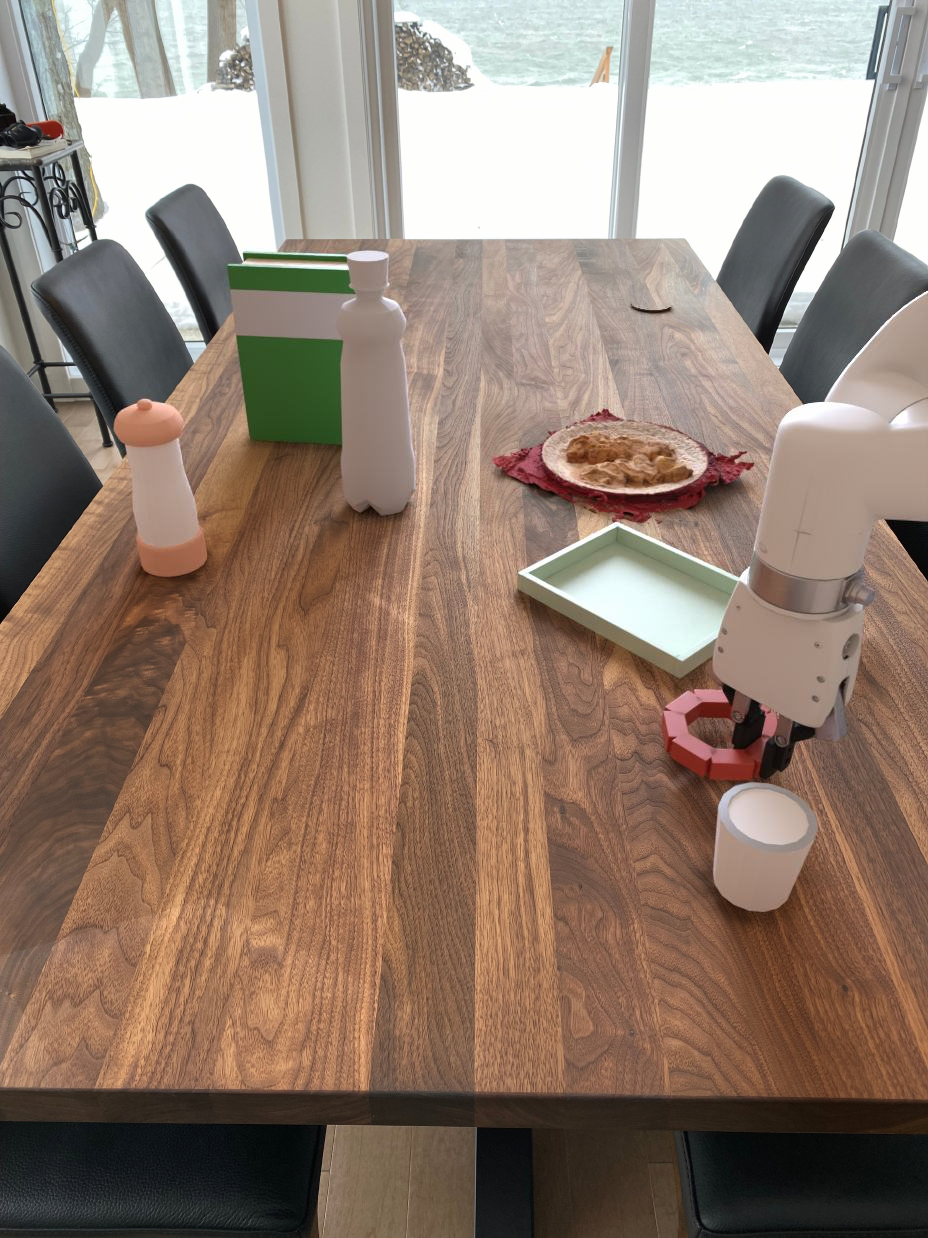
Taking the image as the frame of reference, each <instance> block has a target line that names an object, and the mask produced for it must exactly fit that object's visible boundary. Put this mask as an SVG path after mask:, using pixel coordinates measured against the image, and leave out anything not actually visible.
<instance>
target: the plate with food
mask: <svg viewBox="0 0 928 1238" xmlns="http://www.w3.org/2000/svg"><path fill="white" fill-rule="evenodd" d="M547 434H548V436H547V437H546V438H545V439H544V440H543V442H541V443H539V444H538V445H536V446H532V447H530V448H529V447H527V446H526V447H524V448H523V447H521V448H520V450H517V451H516V452H511V451H510V452H509V454H510V456H509V455H504V454H503V455H500V456H497V457H495V456H494V457H493V458H492V459H491V461H492V463H493V464H494V465H495V466H496V468H497V469H498V468H501V470H502V471H505V472H504V474H506V475H509V476H510V477H513V478H515V479H518V480H519V481H521V482H523V483H526V484H527V485H531V484H535V485H537V487H540V488H541V489H543V490H545V491H547V492H551V491H552V493H553V492H554V494H556V495H558V497H561V498H563V499H565V500H567V501H570V502H571V503H572V504H576V503H584V504H585V505H589V506H591V507H590V510H591V511H592V512H599V513H600V512H601V513H607V514H614V516H613V517H611V520H612V521H613V522H614V523H615V522H618V523H619V520H620V521H621V520H625V521H626V520H627V521H628V522H631V523H638V524H639V523H645V522H647V524H648V525H650V524H651V523H650V522H648V521H649V520H650V519H651V518H652V515H651V514H650V513H656V514H661V513H663V512H664V511H666V512H668V511H667V510H674V509H675V511H677V509H680V508H681V509H682V510H687V509H689V508H691V507H693V506H695V505H696V504H698V503H699V502H701V500H702V499H703V498H704V497H705V495H706V491H705V490H704V488H706V487H707V485H709V486H711V487H712V486H713V487H716V486H718V485H719V479H720V480H721V482H722V483H723V485H724V486H727V484H729V483H731V482H733V481H735V480H736V479H738V478H740V476H741V475H742V473H744V471H745V470H746V471H747V472H748V471H750V470H752V468H754V466H755V462H745V461H741V460H740V461H738V462H736V460H738V459H739V458H741V457H742V456H743V455H746V454H747V453H748V451H747V450H745V451H741V450H740V451H739V452H738V453H736V454H731V455H729V456H727V455H724V454H722V453H721V452H718V453H717V454H714V452H713V451H710V449H709V448H708V447H707V446H706V444H704V443H703V442H700V441H698V440H696V439H694V438H692V437H691V436H690V435H688V434H686V433H685V432H682V431H681V430H679V429H675V428H673V427H671V426H670V425H669V426H668V425H665V424H658V423H654V422H651V421H650V422H649V421H637V420H634V419H623V418H622V417H618V416H616V415H614V414H613V413H612V412H610V410H609V409H608V408H602V410H601V412H600V411H597V412H596V413H595V414H594V413H592V414H590V415H589V416H588V417H587V418H586V419H583V420H579V422H577V421H575V422H574V423H573V424H572V425H571V424H569V425H566V426H565V428H561V429H557V430H551V431H550V430H547ZM572 497H574V498H578V499H581V498H583V499H586V498H587V499H591V501H590V500H588V501H587V500H585V501H579V500H573V498H572ZM594 500H596V501H597V502H596V503H595V502H594ZM585 509H586V510H587V509H588V507H585ZM624 513H630V514H633V516H632V517H631V518H630V517H626V516H625V514H624ZM653 518H655V519H654V521H655V522H656V524H658V523H660V522H661V520H659V519H658V518H656V516H654V517H653ZM621 524H624V522H623V521H622V522H621Z"/></svg>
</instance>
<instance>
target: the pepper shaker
mask: <svg viewBox="0 0 928 1238" xmlns="http://www.w3.org/2000/svg"><path fill="white" fill-rule="evenodd" d="M183 428H184V419H183V417H182V414H181V413H180V412H179V410H177V408H175V407H174V406H173V405H171V404H168V403H164V402H159V401H152V400H151V399H148V398H142V399H140V400H138V401H137V403H134V404H133V403H132V404H131V405H129V406H127V407H124V408H123V409H121V410H120V411H119V412H118V413H117V414H116V417H115V418H114V422H113V432H114V434H115V436H116V437H117V439H118V440H119V441H120V442H121V444H124V446H125V453H126V456H127V461H128V466H129V472H130V476H131V496H132V500H131V501H132V513H133V517H134V521H135V525H136V529H137V534H136V540H135V542H136V546H137V551H138V556H139V561H140V566H141V567H142V569H143V571H144V572H146V573H147V574H149V575H153V576H156V577H166V578H170V577H179V576H180V577H181V576H183V575H187V574H190V573H193V572H195V571H196V570H198V569H200V568H201V567H203V566H204V565H205V563H206V561H207V559H208V551H207V547H206V540H205V535H204V529H203V528H202V526H201V525H200V523H199V519H198V513H197V512H198V511H197V503H196V500H195V496H194V494H193V491H192V488H191V485H190V482H189V479H188V477H187V474H186V471H185V467H184V461H183V456H182V451H181V446H180V440H179V437H180V436H181V435H182V434H183V433H182V432H183Z"/></svg>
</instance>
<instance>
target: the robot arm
mask: <svg viewBox="0 0 928 1238" xmlns="http://www.w3.org/2000/svg"><path fill="white" fill-rule="evenodd" d="M770 459H771V460H770V463H769V469H768V474H767V479H766V484H765V488H764V494H763V498H762V499H763V500H762V503H761V504H762V505H761V508H760V509H761V510H760V514H759V520H758V525H757V530H756V535H755V540H754V544H753V549H752V554H751V558H750V564H749V566H748V568H746V569H745V570H744V571H743V572H742V573H741V575H740V576H739V578H740V579H739V581H738V582H737V585H736V587H735V589H734V591H733V593H732V596H731V598H730V600H729V603H728V605H727V608H726V611H725V614H724V617H723V620H722V622H721V626H720V629H719V633H718V637H717V641H716V645H715V650H714V655H713V656H712V657H711V659H710V660H709V661H708V663H707V664H706V665H705V667H704V671H705V674H706V675H708V677H710V678H711V680H713V682H715V683H716V684H717V686H718V687H721V690H723V693H724V694H725V696H726V698H727V700H728V702H729V703H730V705H731V707H732V710H731V717H732V719H733V720H734V721H735V722H736V723H735V722H734V723H735V724H734V729H733V732H732V737H731V741H730V742H731V744H732V745H733V747H732V749H746V748H747V747H748V746H750V745H751V744H752V743H753V742H755V741H756V740H757V739H758V738H760V737H761V734H762V732H763V727H764V723H765V719H766V715H765V712H766V711H764V710H762V709H760V708H761V707H762V705H763V706H765V707H767V708H769V709H770V710H771V711H774V712H776V713H777V714H778V718H777V721H778V723H777V727H776V731H775V732H774V735H773V736H772V737H771V738H770V739H768V740H767V742H766V744H765V748H764V752H763V756H762V765H761V769H760V773H759V775H760V776H759V778H761V779H762V780H764V781H768V780H769V779H770V778H771V777H772V776H773V775H775V774H776V773H777V772H779V773H782V772H784V771H785V770H786V769H787V768H788V767H789V765H790V764H791V761H792V758H793V754H794V750H795V747H796V746H795V745H796V743H799V742H801V741H802V742H803V741H806V740H807V741H808V740H810V739H816V740H818V741H825V742H829V743H838V742H840V741H841V740H842V739H843V738H844V737H845V736H847V734H848V726H847V719H846V713H845V708H846V706H847V705H848V704H849V702H850V700H851V698H852V695H853V691H854V688H855V684H856V679H857V675H858V670H859V663H860V659H861V658H860V657H861V653H862V652H861V651H862V645H863V634H864V607H869V606H870V605H871V604H872V602H873V601H874V599H875V596H876V592H877V591H876V589H874V588H872V587H870V586H868V585H867V583H866V582H864V579H863V575H864V572H865V569H866V568H865V567H863V564H864V560H865V556H866V552H867V549H868V546H869V542H870V539H871V534H872V532H873V528H874V525H875V523H877V522H878V521H881V520H889V521H890V520H894V521H913V522H928V290H927V291H926V292H923V293H922V294H921V295H918V296H917V297H915V298H914V299H912V300H911V301H909V302H908V303H907V304H905V305H904V306H903V307H901V309H899V310H898V311H897V312H895V314H893V315H892V316H891V317H890V318H889V319H888V320H887V321H886V322H885V323H884V324H883V325H882V326H881V327H880V328H879V329H878V330H877V332H876V333H875V334H874V335H873V336H872V337H871V338H870V340H869V341H868V342H867V343H866V344H865V345H864V346H863V347H862V349H861V350H859V352H858V353H857V354H856V356H855V357H854V358H853V359H852V360H851V362H850V363H849V364H848V365H847V366H846V367H845V369H844V370H843V371H842V372H841V374H840V375H839V377H838V378H837V379H836V381H835V382H834V384H833V385H832V386H831V388H830V390H829V392H828V394H827V395H826V397H825V399H824V401H822V402H820V401H819V402H811V403H806V404H802V405H800V406H797V407H796V408H793V409H792V410H790V411H789V412H788V413H787V414H786V415H785V416H784V417H783V418H782V419H781V420H780V423H779V425H778V428H777V431H776V435H775V439H774V443H773V448H772V453H771V458H770Z"/></svg>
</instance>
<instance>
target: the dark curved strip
mask: <svg viewBox="0 0 928 1238" xmlns="http://www.w3.org/2000/svg"><path fill="white" fill-rule="evenodd" d="M631 307H632V308H634V309H636V310H638V311H644V312H663V311H667V310H669V309H668V308H667V309H663V310H645V309H640V308H636V307H634V306H631Z"/></svg>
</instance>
